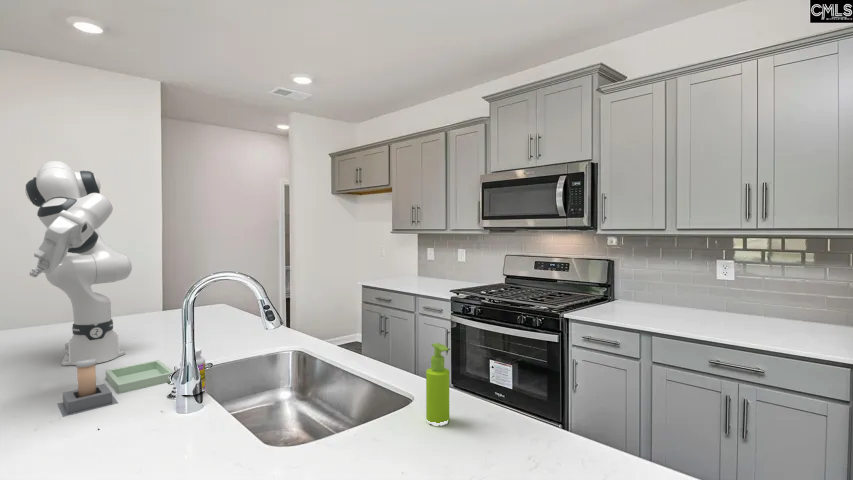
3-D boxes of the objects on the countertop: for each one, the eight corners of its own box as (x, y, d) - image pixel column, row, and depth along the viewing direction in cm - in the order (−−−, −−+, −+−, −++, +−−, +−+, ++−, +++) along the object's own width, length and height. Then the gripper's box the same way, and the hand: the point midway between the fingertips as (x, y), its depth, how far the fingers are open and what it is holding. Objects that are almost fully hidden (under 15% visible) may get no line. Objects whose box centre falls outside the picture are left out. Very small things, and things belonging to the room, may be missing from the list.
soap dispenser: (435, 430, 108) (435, 349, 107) (422, 419, 114) (422, 342, 114) (455, 425, 111) (455, 346, 110) (442, 414, 117) (442, 339, 116)
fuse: (76, 403, 123) (74, 360, 122) (96, 398, 126) (94, 356, 125) (79, 407, 120) (77, 364, 119) (99, 403, 123) (97, 360, 122)
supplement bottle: (195, 397, 129) (194, 354, 128) (175, 395, 130) (174, 352, 130) (210, 389, 135) (209, 347, 135) (191, 387, 137) (190, 346, 136)
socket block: (57, 406, 123) (56, 392, 122) (109, 394, 131) (109, 381, 131) (63, 420, 114) (62, 405, 114) (118, 406, 123) (118, 392, 123)
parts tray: (106, 381, 142) (105, 370, 142) (159, 369, 153) (158, 359, 153) (118, 396, 129) (118, 385, 129) (175, 383, 140) (175, 372, 140)
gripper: (52, 247, 134) (17, 280, 123) (63, 206, 123) (26, 238, 112) (74, 257, 136) (42, 290, 126) (87, 218, 125) (53, 250, 115)
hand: (34, 265), depth 119 cm, fingers open, 8 cm apart
